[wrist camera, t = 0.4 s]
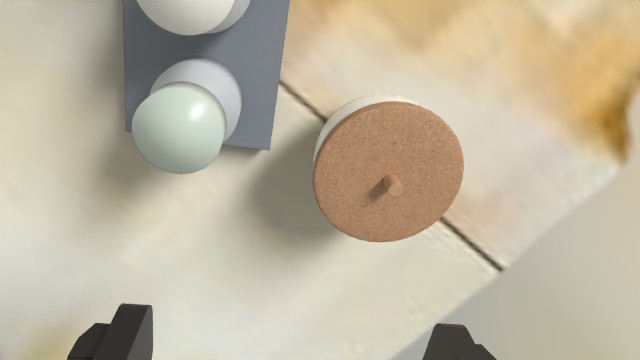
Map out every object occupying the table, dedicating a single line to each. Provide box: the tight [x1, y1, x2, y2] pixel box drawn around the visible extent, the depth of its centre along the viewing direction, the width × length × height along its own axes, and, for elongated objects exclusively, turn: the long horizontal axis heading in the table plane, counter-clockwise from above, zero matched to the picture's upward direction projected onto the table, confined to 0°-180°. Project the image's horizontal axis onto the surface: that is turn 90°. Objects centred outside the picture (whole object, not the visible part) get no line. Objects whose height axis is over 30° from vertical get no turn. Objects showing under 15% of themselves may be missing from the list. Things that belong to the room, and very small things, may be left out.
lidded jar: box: [313, 94, 464, 242], centre depth 32 cm, size 11×11×9 cm
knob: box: [132, 81, 227, 174], centre depth 25 cm, size 5×5×2 cm
